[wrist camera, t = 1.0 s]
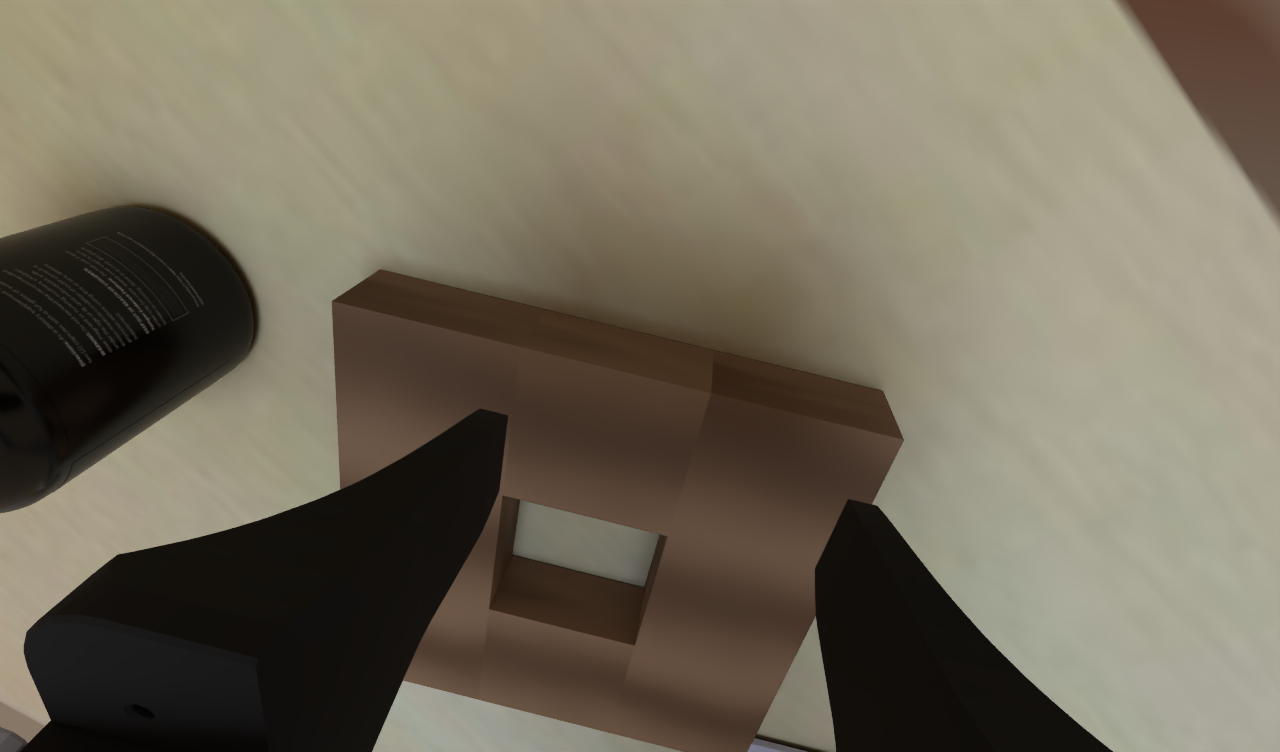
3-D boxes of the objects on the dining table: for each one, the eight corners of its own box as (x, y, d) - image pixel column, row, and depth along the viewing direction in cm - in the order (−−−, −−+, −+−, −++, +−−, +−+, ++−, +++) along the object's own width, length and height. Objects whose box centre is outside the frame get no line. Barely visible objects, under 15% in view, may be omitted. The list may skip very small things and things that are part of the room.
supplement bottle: (51, 206, 23) (-542, 353, 12) (220, 196, 21) (-269, 348, 11) (137, 375, 26) (-273, 608, 15) (288, 374, 25) (-41, 622, 14)
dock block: (739, 703, 30) (740, 765, 28) (381, 613, 31) (348, 666, 28) (883, 391, 22) (904, 440, 19) (379, 269, 22) (331, 301, 19)
